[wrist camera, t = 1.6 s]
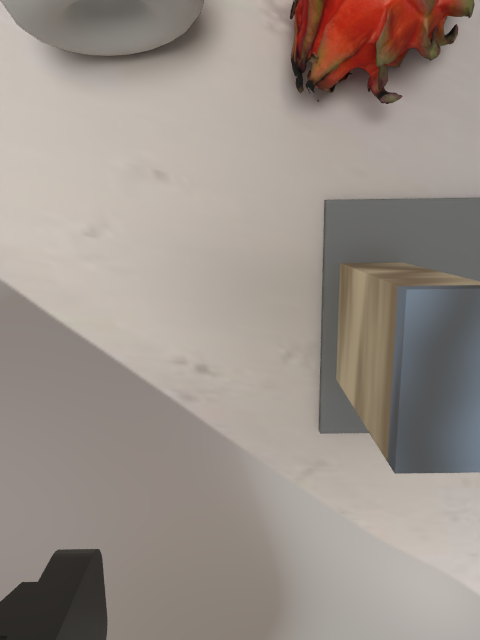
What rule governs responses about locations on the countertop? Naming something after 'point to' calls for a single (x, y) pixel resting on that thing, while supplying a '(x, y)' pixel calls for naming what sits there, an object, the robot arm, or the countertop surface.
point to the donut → (105, 23)
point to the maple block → (412, 363)
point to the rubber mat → (380, 247)
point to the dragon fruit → (367, 38)
